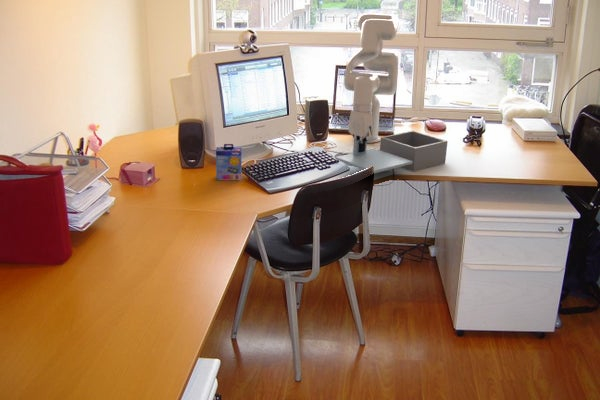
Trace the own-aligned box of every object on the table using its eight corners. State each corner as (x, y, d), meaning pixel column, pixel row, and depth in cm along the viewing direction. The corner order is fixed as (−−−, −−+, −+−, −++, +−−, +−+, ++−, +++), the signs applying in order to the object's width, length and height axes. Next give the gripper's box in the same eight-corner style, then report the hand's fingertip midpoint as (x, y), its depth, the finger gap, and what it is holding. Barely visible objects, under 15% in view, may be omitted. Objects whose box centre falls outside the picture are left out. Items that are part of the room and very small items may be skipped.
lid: (335, 162, 272) (336, 142, 270) (373, 153, 285) (375, 134, 282) (373, 176, 256) (374, 156, 254) (412, 166, 269) (413, 146, 267)
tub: (379, 159, 290) (380, 137, 286) (410, 152, 301) (412, 130, 298) (413, 171, 275) (415, 148, 271) (445, 163, 287) (447, 140, 283)
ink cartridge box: (216, 180, 259) (215, 144, 254) (216, 176, 264) (215, 140, 259) (241, 180, 260) (241, 144, 254) (241, 175, 265) (241, 140, 260)
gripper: (342, 105, 273) (340, 148, 279) (369, 112, 261) (366, 157, 268) (355, 102, 277) (353, 145, 284) (382, 110, 266) (379, 154, 272)
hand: (359, 151), depth 276 cm, fingers closed on lid, 1 cm apart
